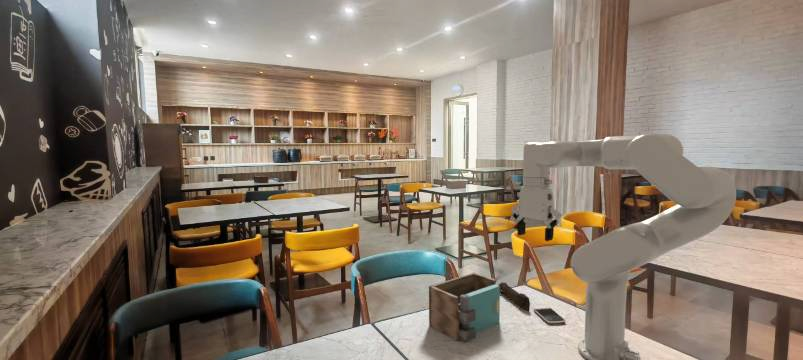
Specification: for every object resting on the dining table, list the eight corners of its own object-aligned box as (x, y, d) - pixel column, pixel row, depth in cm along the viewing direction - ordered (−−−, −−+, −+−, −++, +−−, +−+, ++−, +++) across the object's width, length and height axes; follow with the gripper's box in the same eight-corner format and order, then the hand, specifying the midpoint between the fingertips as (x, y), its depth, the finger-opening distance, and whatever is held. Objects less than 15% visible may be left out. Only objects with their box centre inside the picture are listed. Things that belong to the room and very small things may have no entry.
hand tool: (497, 292, 151) (497, 280, 150) (506, 291, 151) (507, 279, 151) (521, 313, 132) (521, 300, 132) (532, 311, 133) (532, 298, 132)
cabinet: (507, 323, 124) (507, 284, 123) (461, 343, 112) (461, 300, 110) (473, 308, 135) (474, 272, 134) (429, 325, 123) (428, 286, 122)
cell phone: (548, 326, 122) (548, 322, 122) (532, 311, 133) (532, 307, 133) (566, 325, 123) (567, 321, 123) (549, 310, 134) (549, 306, 134)
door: (501, 323, 124) (502, 286, 123) (466, 338, 114) (466, 299, 113) (493, 319, 127) (493, 283, 126) (458, 334, 117) (458, 296, 116)
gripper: (569, 183, 114) (567, 240, 116) (519, 180, 128) (518, 231, 129) (554, 185, 109) (553, 245, 111) (505, 181, 123) (504, 234, 125)
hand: (534, 237), depth 120 cm, fingers open, 9 cm apart
